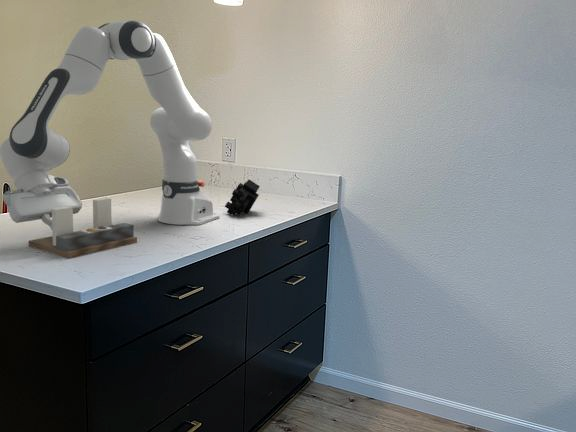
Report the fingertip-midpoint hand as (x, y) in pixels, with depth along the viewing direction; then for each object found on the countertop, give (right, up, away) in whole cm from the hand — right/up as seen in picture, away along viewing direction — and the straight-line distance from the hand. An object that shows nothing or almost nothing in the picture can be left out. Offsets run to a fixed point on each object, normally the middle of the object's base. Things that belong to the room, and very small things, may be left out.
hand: (58, 228), depth 156 cm
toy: (+45, +4, +60) cm, 75 cm away
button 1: (+1, -4, 0) cm, 4 cm away
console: (+4, -5, +8) cm, 10 cm away
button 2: (+7, -1, +15) cm, 17 cm away
